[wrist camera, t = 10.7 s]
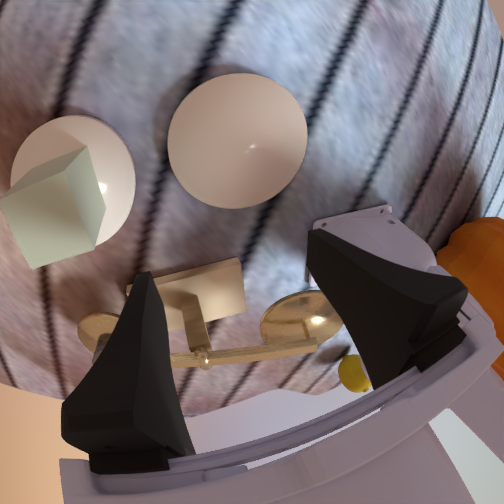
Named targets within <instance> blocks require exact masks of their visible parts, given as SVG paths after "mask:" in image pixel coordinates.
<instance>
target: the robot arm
mask: <svg viewBox="0 0 504 504" xmlns="http://www.w3.org/2000/svg"><path fill="white" fill-rule="evenodd" d="M391 211H392V206H391V205H389V204H386V205H381V206H377V207H372V208H368V209H363V210H359V211H354V212H350V213H345V214H341V215H337V216H332V217H328V218H324V219H319V220H316V221H315V222H314V223H313V230H310V231H308V246H307V263H306V266H307V268H308V269H309V271H310V273H309V285H310V286H311V287H314V286H317V285H318V287H319V288H320V290H321V291H322V293H323V294H324V295H325V297H326V298H327V299H328V301H329V302H330V304H331V305H332V306H333V308H334V309H335V311H336V312H337V313H338V315H339V316H340V318H341V319H342V321H343V323H344V324H345V326H346V328H347V330H348V332H349V334H350V336H351V338H352V340H353V342H354V344H355V346H356V348H357V350H358V352H359V354H360V362H361V366H362V369H363V371H364V373H365V375H366V377H367V378H368V380H369V381H370V382H371V384H372V387H373V389H374V391H372V392H370V393H368V394H366V395H364V396H363V397H361V398H359V399H357V400H355V401H353V402H351V403H349V404H346V405H344V406H342V407H340V408H338V409H336V410H334V411H332V412H329V413H327V414H325V415H322V416H320V417H318V418H315V419H313V420H310V421H308V422H305V423H303V424H300V425H298V426H295V427H292V428H290V429H287V430H284V431H281V432H278V433H275V434H272V435H269V436H266V437H263V438H260V439H257V440H253V441H250V442H246V443H243V444H239V445H236V446H232V447H228V448H224V449H220V450H215V451H211V452H206V453H202V454H196V452H195V450H194V447H193V444H192V441H191V439H190V436H189V433H188V430H187V427H186V424H185V421H184V417H183V414H182V411H181V407H180V403H179V400H178V396H177V392H176V388H175V384H174V379H173V375H172V368H171V359H170V349H169V338H168V326H167V319H166V314H165V309H164V304H163V301H162V299H161V297H160V294H159V292H158V289H157V287H156V285H155V282H154V280H153V277H152V274H151V272H150V271H148V272H144V273H140V274H137V275H136V277H135V279H134V282H133V285H132V287H131V290H130V293H129V295H128V298H127V300H126V303H125V305H124V308H123V310H122V312H121V315H120V317H119V319H118V321H117V323H116V326H115V328H114V330H113V332H112V334H111V336H110V338H109V340H108V341H107V343H106V345H105V347H104V349H103V350H102V352H101V354H100V355H99V357H98V358H97V360H96V361H95V363H94V364H93V366H92V367H91V369H90V370H89V372H88V373H87V374H86V376H85V377H84V378H83V380H82V381H81V382H80V383H79V385H78V386H77V387H76V388H75V389H74V391H73V392H72V393H71V394H70V395H69V396H68V397H67V399H66V400H65V401H64V402H63V403H62V408H61V436H62V438H63V439H64V440H65V441H66V442H67V443H68V444H70V445H72V446H74V447H76V448H78V449H80V450H82V451H84V452H86V453H88V454H89V461H88V460H83V459H62V458H61V459H59V465H60V476H61V485H62V492H63V499H64V504H475V502H474V501H473V499H472V497H471V495H470V493H469V491H468V489H467V487H466V486H465V484H464V482H463V480H462V478H461V477H460V475H459V473H458V471H457V470H456V468H455V466H454V464H453V463H452V461H451V459H450V458H449V456H448V454H447V453H446V451H445V449H444V448H443V446H442V444H441V443H440V441H439V439H438V438H437V436H436V434H435V433H434V431H433V430H432V428H431V427H430V425H429V423H428V422H429V421H431V420H432V419H433V418H434V417H436V416H437V415H438V414H439V413H441V412H442V411H443V410H444V409H446V408H450V409H451V410H452V411H453V412H454V413H455V414H456V415H457V416H458V417H459V418H460V419H461V420H462V421H463V422H464V423H465V424H466V425H467V426H468V427H469V428H470V429H471V430H472V431H473V432H474V433H475V434H476V435H477V436H478V437H479V438H480V439H481V440H482V441H483V442H484V443H485V444H486V445H487V446H488V447H489V448H490V450H491V451H492V452H493V453H494V454H495V455H496V456H497V457H498V458H499V459H500V460H501V461H502V462H503V463H504V381H503V380H502V379H501V377H500V376H499V375H498V374H497V373H496V372H495V371H494V369H493V368H492V367H491V366H490V365H491V364H492V363H493V362H494V361H495V360H496V359H497V358H498V357H499V355H500V354H501V353H502V352H503V351H504V346H503V345H502V343H501V342H500V341H499V340H498V338H497V337H496V331H495V329H494V323H493V321H492V320H491V318H490V317H489V316H488V314H487V313H486V312H485V311H484V310H483V308H482V306H481V305H480V304H479V303H478V302H477V301H476V299H475V298H474V297H473V296H472V295H471V294H470V293H469V292H468V288H467V287H466V286H465V285H464V284H463V283H462V282H461V281H460V280H459V279H458V278H457V277H453V276H451V275H450V274H449V273H448V272H447V271H446V270H445V269H443V268H442V267H441V266H439V265H437V262H436V258H435V256H434V253H433V251H432V250H431V248H430V247H429V245H428V244H427V243H426V242H425V241H424V240H423V239H421V238H420V237H419V236H418V235H417V234H415V233H414V232H413V231H412V230H411V229H409V228H408V227H407V226H406V225H404V224H403V223H402V222H401V221H399V220H398V219H397V218H395V217H394V216H393V215H392V214H391ZM323 223H324V225H322V224H323ZM383 405H384V406H383ZM380 407H381V409H380V411H379V412H377V413H375V414H373V415H372V416H370V417H368V418H366V419H364V420H362V421H360V422H359V423H357V424H355V425H353V426H351V427H349V428H347V429H345V430H342V431H341V432H338V433H336V434H334V435H332V436H330V437H327V438H326V439H323V440H321V441H320V442H317V443H315V444H313V445H311V446H309V447H306V448H304V449H302V450H300V451H297V452H295V453H292V454H290V455H287V456H285V457H282V458H280V459H277V460H275V461H272V462H269V463H267V464H264V465H261V466H258V467H255V468H252V469H249V470H248V469H247V466H245V465H241V464H245V463H248V462H252V461H255V460H259V459H262V458H265V457H268V456H272V455H275V454H277V453H281V452H283V451H286V450H289V449H292V448H295V447H297V446H300V445H302V444H305V443H307V442H310V441H312V440H315V439H317V438H320V437H322V436H324V435H327V434H329V433H331V432H333V431H335V430H337V429H340V428H342V427H343V426H346V425H348V424H350V423H352V422H354V421H356V420H358V419H360V418H362V417H364V416H365V415H367V414H369V413H371V412H373V411H374V410H376V409H378V408H380ZM237 465H241V466H237ZM233 466H234V467H233Z"/></svg>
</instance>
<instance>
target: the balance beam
mask: <svg viewBox="0 0 504 504" xmlns="http://www.w3.org/2000/svg"><path fill="white" fill-rule="evenodd" d="M119 317H120V315H118V314H114V313H109V312H93V313H89V314H87V315H85V316H84V317H83V318H82V319H81V321H80V323H79V326H78V331H77V332H78V336H79V338H80V340H81V342H82V343H83V344H84V345H85V347H87V348H88V349H89V350H90V351H91V352H93V353H94V356H93V360H92V363H93V364H94V363H95V361H96V360H97V358H98V357H99V355H100V354H101V352H102V350H103V349H104V347H105V345H106V343H107V341H108V340H109V338H110V336H111V334H112V332H113V330H114V328H115V326H116V323H117V321H118V319H119ZM343 324H344V323H343V321H342V319H341V318H340V316H339V315H338V313H337V312H336V311H335V309H334V308H333V306H332V305H331V304H330V302H329V301H328V299H327V298H326V297H325V295H324V294H323V293H322V291H321V290H307V291H301V292H297V293H294V294H291V295H288V296H286V297H284V298H282V299H280V300H278V301H277V302H275V303H274V304H273V305H271V306H270V307H269V308H268V309H267V310H266V311H265V313H264V314H263V316H262V318H261V320H260V332H261V337H262V339H263V340H264V342H265V343H266V344H268V345H260V346H253V347H244V348H235V349H226V350H215V351H207V349H206V348H204V347H199V348H197V349H196V350H195V352H190V353H173V354H170V359H171V368H180V367H197V366H200V368H201V369H203V370H208V369H210V368H211V367H212V365H223V364H233V363H242V362H251V361H259V360H267V359H274V358H280V357H287V356H293V355H299V354H305V353H310V352H316V351H317V347H318V345H319V344H321V343H323V342H325V341H326V340H328V339H330V338H331V337H332V336H334V335H335V334H336V333H337V332H338V331H339V330H340V328H341V327H342V326H343Z"/></svg>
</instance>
